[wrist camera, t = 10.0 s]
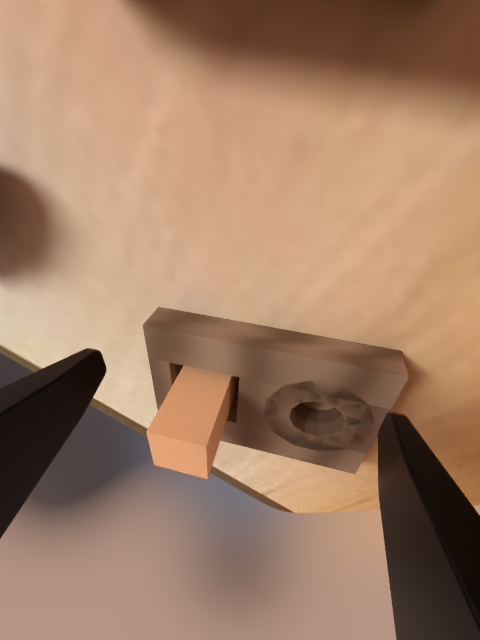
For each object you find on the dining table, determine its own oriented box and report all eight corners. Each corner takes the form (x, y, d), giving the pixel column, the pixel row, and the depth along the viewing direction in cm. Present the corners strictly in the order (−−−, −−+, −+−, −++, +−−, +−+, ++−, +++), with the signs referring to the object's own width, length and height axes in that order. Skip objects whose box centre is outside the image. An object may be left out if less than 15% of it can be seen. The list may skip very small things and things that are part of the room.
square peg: (237, 360, 25) (206, 446, 18) (235, 392, 27) (207, 479, 21) (191, 350, 25) (146, 432, 19) (193, 383, 28) (154, 464, 21)
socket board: (401, 351, 20) (409, 376, 18) (353, 447, 27) (355, 474, 25) (158, 307, 23) (142, 325, 21) (171, 404, 30) (160, 425, 28)
